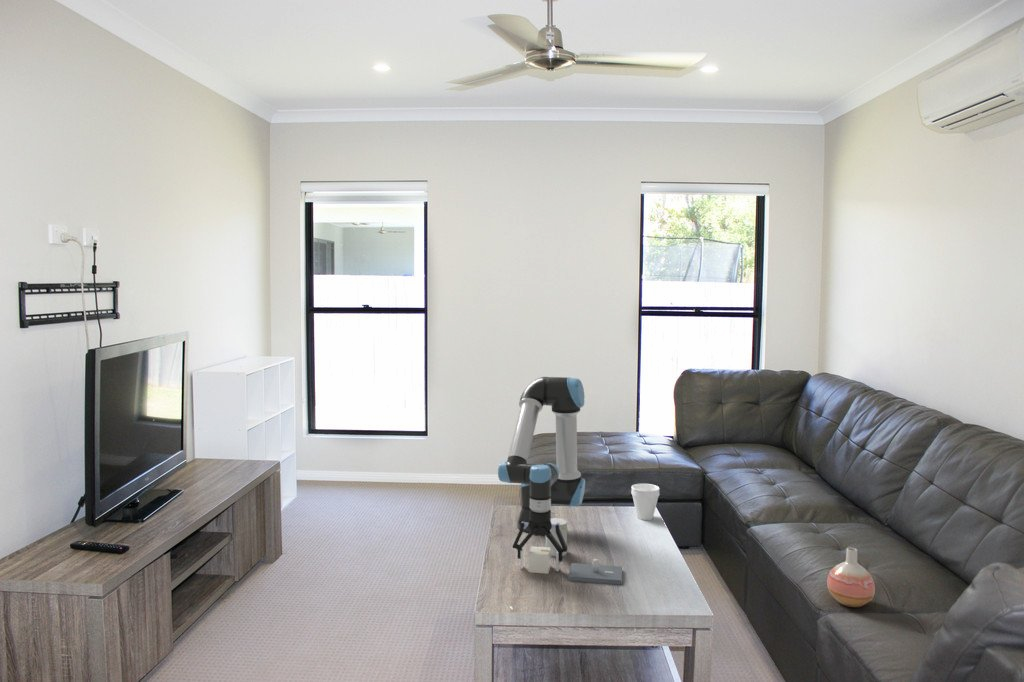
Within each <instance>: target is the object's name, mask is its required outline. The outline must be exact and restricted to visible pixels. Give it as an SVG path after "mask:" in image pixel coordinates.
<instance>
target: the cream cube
mask: <svg viewBox="0 0 1024 682" xmlns="http://www.w3.org/2000/svg"><path fill="white" fill-rule="evenodd" d="M528 552H529V553H528V573H533V574H534V573H536V574H546V575H547V574H549V572H550V570H551V567H552V566H551V565H552V562H551V558H552V556H551V548H549V547H546V546H534V545H533V546H531V547H530V550H529V551H528Z"/></svg>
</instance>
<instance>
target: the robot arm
mask: <svg viewBox="0 0 1024 682" xmlns="http://www.w3.org/2000/svg"><path fill="white" fill-rule="evenodd" d="M584 389H585V388H584V385H583V383H582V381H581V380H580V379H579V378H575V377H564V376H563V377H561V376H560V377H558V376H541V377H537V379H534V380H533V381H532V382H530V383H529V384H528V386H527V387H526V388H525V389H524V390H523V391H522V394H521V396H520V398H519V402H518V406H519V408H520V409H519V412H518V417H517V420H516V425H515V428H514V433H513V436H512V439H511V440H512V441H511V444H510V448H509V452H508V457H507V460H506V461H502V462H500V463H499V465H498V469H497V477H498V480H499V481H500V482H503V483H507V484H520V487H521V490H520V491H521V494H520V495H521V500H520V501H521V502H520V503H521V505H520V506H521V507H520V510H519V515H518V517H517V518H518V519H517V521H516V526H517V527H516V528H517V529H518V530H519V531H518V533H517V535H516V538H515V540H514V542H513V544H512V548H513V549H515V550H517V559H519V561H520V562H519V563H520V566H519V567H520V569H521V570H523V569H524V565H525V562H524V561H525V559H524V558H525V554H524V551H525V548H523V547H524V546H525V545H526V544H527V542H528V541H529V540H530V539H531V538H532V537H533V535H534V536H535V537H538V536H540V537H545V538H546V537H547V538H548V539H549V540H550V541H551V543H552V544H553V545H554V547H555V548H556V550H557V553H556V556H555V559H556V560H555V562H556V563H555V570H556V571H555V572H559V570H560V562H561V563H562V561H563V556H562V552H566V551H567V552H568V544H567V545H566V543H565V540H564V538H563V536H562V533H561V531H560V525H559V523H557V524H551V518H553V517H552V511H551V508H552V507H551V506H552V505H553V506H561V507H562V506H564V507H569V508H570V507H579V506H581V505H582V503H583V500H584V495H585V490H586V478H583V477H582V473H581V472H580V471H579V470H578V435H577V434H578V429H577V428H578V422H577V420H578V419H577V417H578V416H577V414H578V413H580V412H581V408H583V407H584V405H585V390H584ZM544 406H551V413H553V414H554V415H555V445H556V446H555V453H556V456H555V458H556V464H555V463H552V462H547V463H544V464H535V463H534V464H533V463H528V459H529V456H530V451H531V447H532V443H533V439H534V434H535V429H536V426H537V421H538V418H539V413H540V412H541V411H542V410H543V407H544ZM551 528H553V529H554V530H555V531H556V534H557V536H558V539H559V541H560V543H561V546H562V547H561V546H560V545H559V543H558V542H557V541H556V539H555V538H554V536H553V535H552V533H551V532H550V529H551ZM523 532H526V533H528V534H526V536H525V537H524V538H523V540H521V542H520V544H519V541H520V539H521V536H522V535H523Z"/></svg>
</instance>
